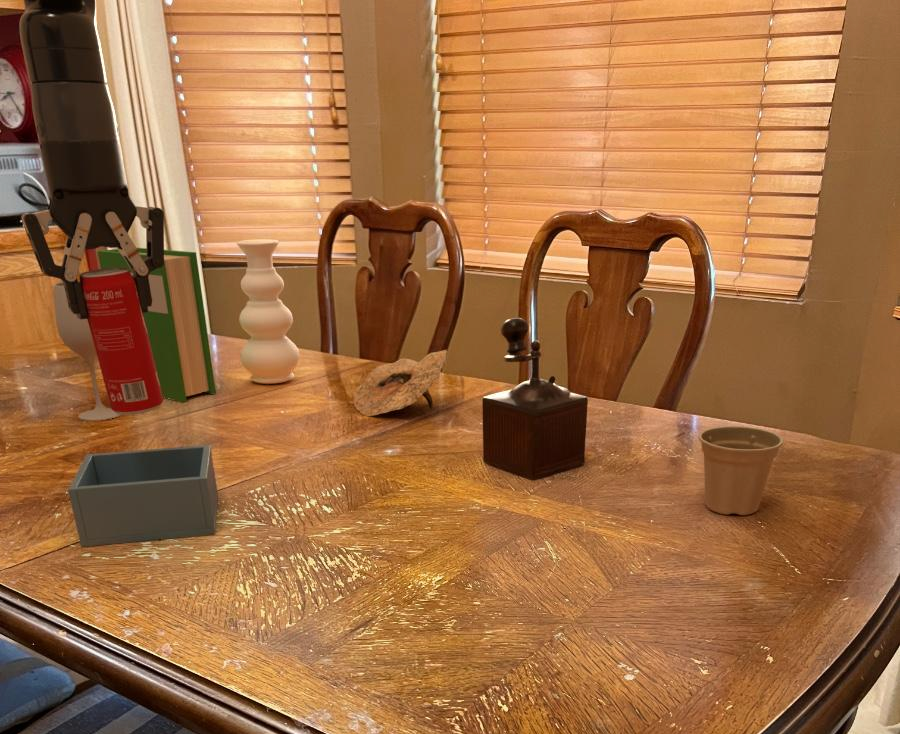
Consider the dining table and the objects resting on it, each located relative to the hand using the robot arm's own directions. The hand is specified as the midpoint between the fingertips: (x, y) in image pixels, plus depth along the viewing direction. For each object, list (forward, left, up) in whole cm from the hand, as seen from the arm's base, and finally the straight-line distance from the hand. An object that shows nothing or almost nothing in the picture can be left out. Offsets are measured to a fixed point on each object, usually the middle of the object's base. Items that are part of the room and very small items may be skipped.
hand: (112, 314), depth 93 cm
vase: (+16, +67, -24) cm, 73 cm away
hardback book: (-3, +64, -24) cm, 68 cm away
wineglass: (-13, +50, -24) cm, 57 cm away
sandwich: (+36, +41, -24) cm, 60 cm away
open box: (0, -1, -24) cm, 24 cm away
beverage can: (0, 0, -11) cm, 11 cm away
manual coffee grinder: (+49, +10, -24) cm, 56 cm away
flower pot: (+68, -14, -24) cm, 74 cm away
